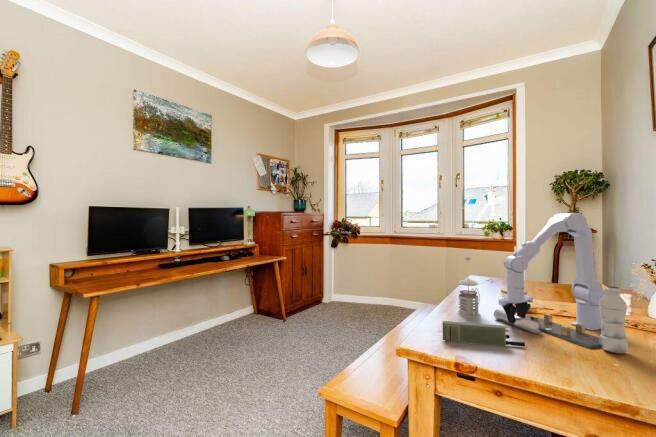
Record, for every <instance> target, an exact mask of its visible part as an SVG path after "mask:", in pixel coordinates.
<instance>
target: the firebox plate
mask: <svg viewBox="0 0 656 437" xmlns="http://www.w3.org/2000/svg"><path fill="white" fill-rule="evenodd" d="M525 319H528V320H531V321H534V322H537V323H540V324H541V326H542V330H541V332H543V333H545V334H547V335H551V336H554V337H556V338H559V339H561V340H563V341H564V340H565V341H567V342H571V343H572V344H576V345H578V346H581V347H584V348H586V349H590V350H593V349H599V348H602V347H601V346H600V342H599V339H600V336H599V337H598V336H595V335H593V334H590V333H587V332H586V328H585V325H583V324H580V323H578V324H576V325H575V328H572V327H570V326H567V325H562V324H560V323H555V322H553V315H552V314H549V313H544V314H543V318H540V317H539V316H536V315H532V314H530V315H529V314H528V315H526V316H525Z"/></svg>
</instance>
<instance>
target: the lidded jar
mask: <svg viewBox="0 0 656 437" xmlns="http://www.w3.org/2000/svg"><path fill="white" fill-rule="evenodd" d="M500 294H501V296H500V297H501V299H503V298H506V296H507V287H502V288H500ZM526 296H528V290H526V289H524V297H526Z"/></svg>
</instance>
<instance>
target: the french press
mask: <svg viewBox="0 0 656 437" xmlns="http://www.w3.org/2000/svg"><path fill="white" fill-rule="evenodd" d="M470 260H471V257H469V256H466V257H465V261H470ZM457 283H458V285H462V286H467V289H462V290H459V294H458V300H459V301H458V309H459V310H458V311H457V312H456V315H457V316H459V317H462V318H466V319H467V318H469V319H479V318H481V317H482V314H481V313H479V305H480V301H481V295H480V291H479V289H477V287H475V286H478V285H479V282H477V281H475V280H473V279H470V278H466V279H465V278H464V279H461V280H459V281H458V282H457ZM471 286H472V287H475V288H471V290H469V287H471Z"/></svg>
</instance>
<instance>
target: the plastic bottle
mask: <svg viewBox="0 0 656 437" xmlns="http://www.w3.org/2000/svg"><path fill="white" fill-rule="evenodd" d="M621 291H622V289H621V287H618V286H613V285H605V286H604V292H605V295H604V296H603V297H602V298H601V299H600V300H599V308H600V313H601V320H602V321H601V322H602V326H601V329H600V335H599V338H600V339H599V342H600V346H601V347H600V348H602V350H605V351H607V352H610V353H613V354H626V353H627V352H628V350H629V349H628V348H629V342H628V338H627V334H626V333H627V332H626V317H627V316H626V315H627V310H628V305H627V304H626V303H627V302H626V301H625V300H624V299H623V298H622V296H621V294H622V292H621Z"/></svg>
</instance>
